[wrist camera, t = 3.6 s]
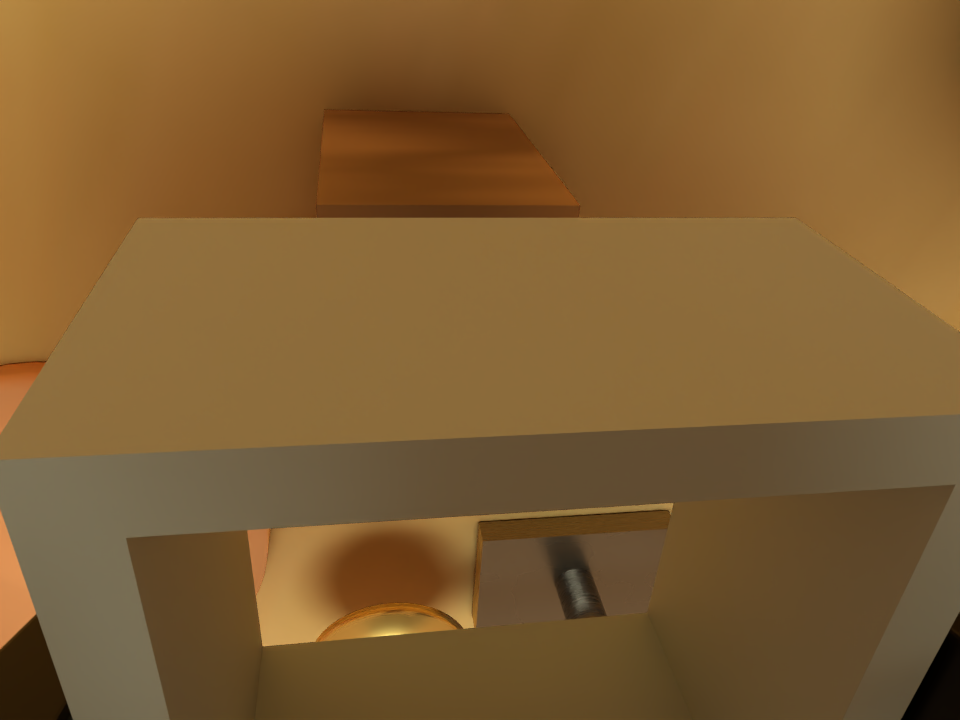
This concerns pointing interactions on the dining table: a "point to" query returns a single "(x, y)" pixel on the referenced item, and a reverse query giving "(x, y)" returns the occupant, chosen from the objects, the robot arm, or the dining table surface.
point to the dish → (3, 590)
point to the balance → (539, 575)
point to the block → (434, 168)
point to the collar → (494, 463)
